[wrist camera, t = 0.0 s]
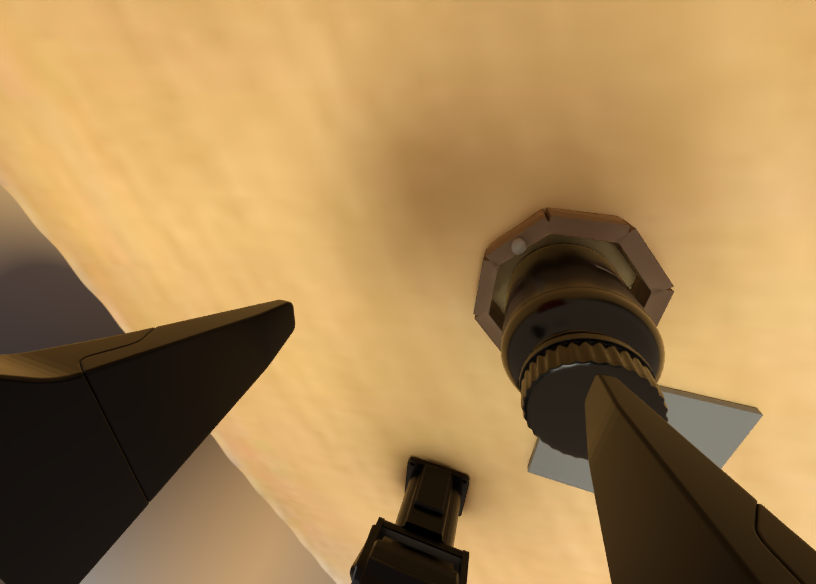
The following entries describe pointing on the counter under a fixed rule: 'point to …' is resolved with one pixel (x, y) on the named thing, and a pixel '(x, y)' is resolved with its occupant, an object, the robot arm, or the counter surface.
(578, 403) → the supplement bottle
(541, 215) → the walnut collar
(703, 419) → the rubber mat
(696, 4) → the counter surface
